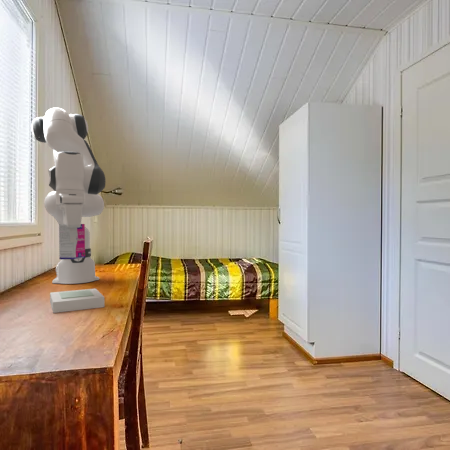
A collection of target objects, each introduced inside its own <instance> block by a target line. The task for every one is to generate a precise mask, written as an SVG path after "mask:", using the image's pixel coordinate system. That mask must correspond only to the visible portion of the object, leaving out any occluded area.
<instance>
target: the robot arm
mask: <svg viewBox="0 0 450 450" xmlns="http://www.w3.org/2000/svg"><path fill="white" fill-rule="evenodd" d="M30 128H31V129H30V130H31V133H32V135H33V136H34V138H35V140H36V141H37V142H38V143H43V144H44V143H46V144H47V145H48V147H49V148H51V149H52V150H53V151H52V153H53V154H52V155H53V164H54V165H53V166H52V167H51V168H49V169H48V174H49V183H48V186H49V187H50V188H51V189H52V190H53V191H50V192H48V194H47V195H46V196H45V198H44V203H43V204H44V208H45V210H46V212H47V213H48V214H49V215H50V216H52V217H53V218H54V219H55V221H56V223H57V224H58V225H59V224H66V227H67V228H69V230H70V242H71V243H73V242H76V241H77V240H76V236H77V228H79V227H80V226H81V224H82V220H83V219H82V218H86V217H87V218H90V217H95V216H99V215H101V214H102V213H103V211H104V209H105V201H104V199H103V197H102V196H101V195H100V194H99V193H101V192H103V191H104V189H105V188H106V183H107V182H106V175H105V172H104V171H103V169H102V168H101V166H100V165H99V164H98V161H97V159H96V157H95V155H94V153H93V151H92V149H91V147H90V145H89V143H88V142H87V140H85V139H86V138H87V136H88V133H89V124H88V121H87V120H86V118H85V116H84V115H83V114H79V113H74V114H72V113H70V114H69V113H68V112H67V110H65V109H63V108H61V107H51V108H49V109H48V110H46V112H45V115H44V116H38V117H35V118H34V119H33V120H32V121H31V127H30ZM91 257H92V249H91V233H90V230H89V229H88V228H87V227H86V226H85V258H78V259H60V261H59V262H58V263H57V265H56V266H55V273H56V274H55V275H56V277H55V278H54V279H53V280H52V284H62V285H67V284H69V285H72V284H73V285H74V284H86V283H90V282H95V281H99V280H100V277H99V276H96V263H95V260H94V259H93V258H91Z"/></svg>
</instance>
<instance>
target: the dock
mask: <svg viewBox="0 0 450 450" xmlns="http://www.w3.org/2000/svg"><path fill="white" fill-rule="evenodd" d="M49 303H50V308H51V310H52V313H53V314H57V313H65V312H72V311H81V310H89V309H90V310H91V309H100V308H105V296H104V295H103V294H102V293H101V292H100V291H99V290H98V289H97V288H87V289H85V288H84V289H75V290H64V291H53V292H49Z"/></svg>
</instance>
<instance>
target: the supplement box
mask: <svg viewBox="0 0 450 450" xmlns="http://www.w3.org/2000/svg"><path fill="white" fill-rule="evenodd" d="M85 227H86V224H85V223H81V226H80V227H79V228H77V236H76V240H77V241H76V242H73V243H71V242H70V230H69V228H67V227H66V224H58V243H59V244H58V245H59V246H58V248H59V249H58V250H59V251H58V252H59V253H58V254H59V255H58V257H59V260H61V259H78V258H85Z"/></svg>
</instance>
